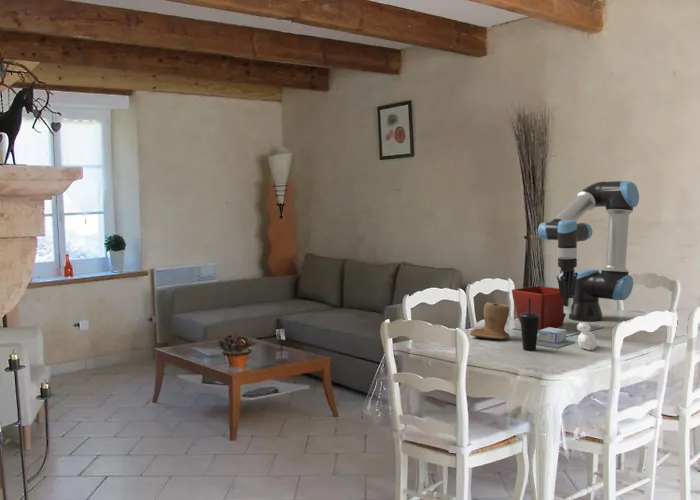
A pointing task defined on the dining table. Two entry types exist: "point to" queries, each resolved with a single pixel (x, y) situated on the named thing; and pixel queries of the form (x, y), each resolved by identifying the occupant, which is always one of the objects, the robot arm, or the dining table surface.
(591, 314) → the robot arm
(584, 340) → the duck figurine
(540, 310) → the plant pot
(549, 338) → the medicine box
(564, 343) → the mat
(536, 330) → the drinking cup
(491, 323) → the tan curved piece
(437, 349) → the dining table surface
